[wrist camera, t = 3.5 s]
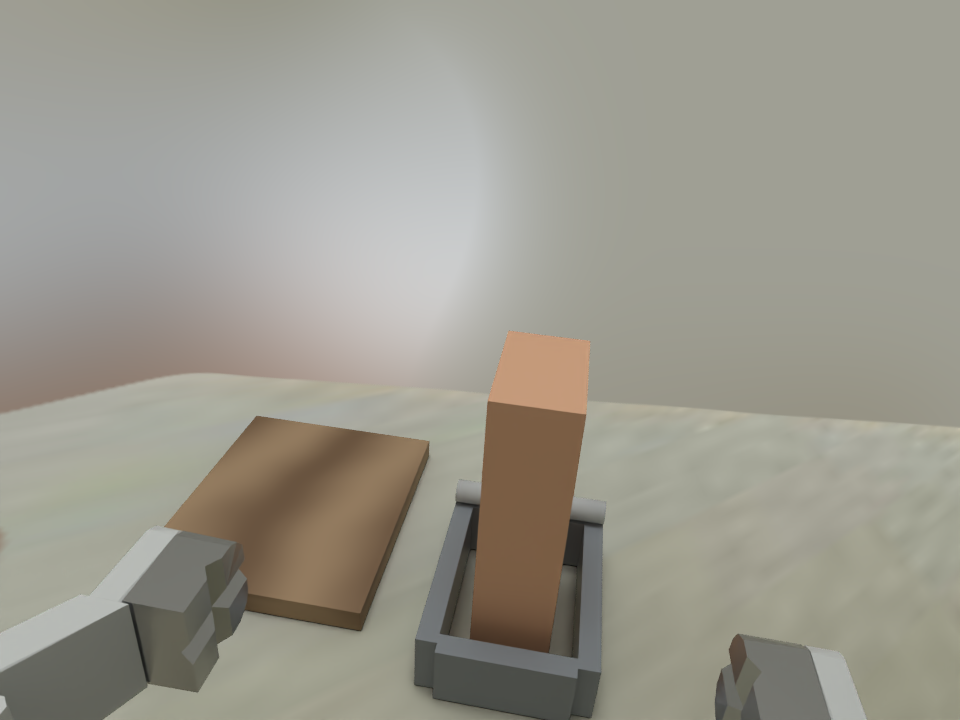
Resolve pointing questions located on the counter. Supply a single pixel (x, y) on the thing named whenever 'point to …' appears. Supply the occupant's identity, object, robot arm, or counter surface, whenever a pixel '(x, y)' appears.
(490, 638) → the tan rectangular prism
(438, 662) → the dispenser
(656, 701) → the counter surface
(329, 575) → the pad
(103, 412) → the counter surface
